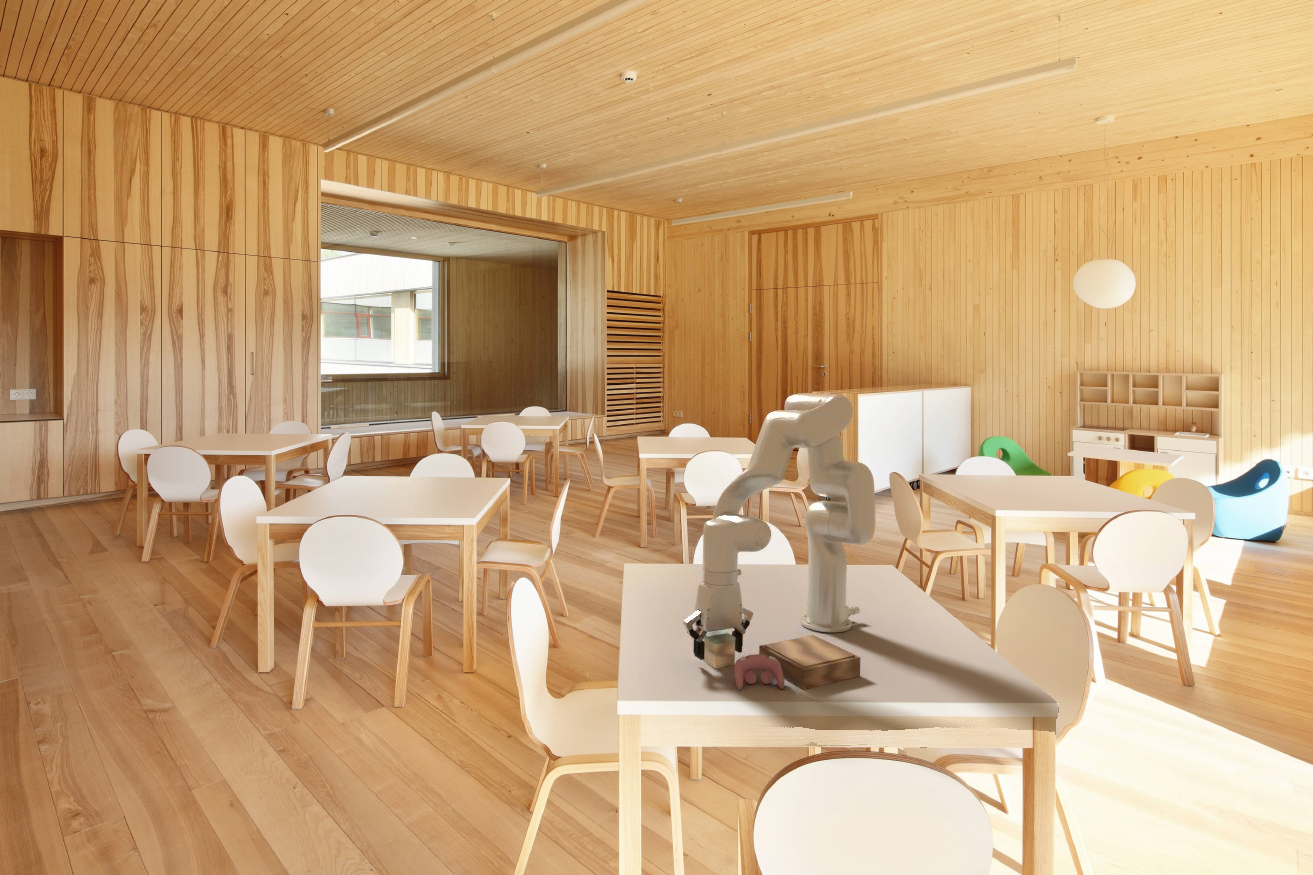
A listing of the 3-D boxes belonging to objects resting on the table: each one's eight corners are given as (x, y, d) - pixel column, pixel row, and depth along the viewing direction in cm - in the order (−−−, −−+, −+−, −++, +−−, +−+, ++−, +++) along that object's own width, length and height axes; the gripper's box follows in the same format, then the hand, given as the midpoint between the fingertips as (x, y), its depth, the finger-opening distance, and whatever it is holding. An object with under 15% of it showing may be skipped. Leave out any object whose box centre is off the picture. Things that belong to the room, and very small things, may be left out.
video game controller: (781, 690, 147) (779, 654, 150) (786, 689, 143) (783, 652, 145) (733, 691, 146) (731, 655, 149) (737, 689, 142) (735, 652, 145)
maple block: (722, 656, 161) (722, 630, 160) (734, 664, 156) (735, 637, 156) (702, 660, 158) (703, 633, 158) (715, 668, 154) (715, 640, 154)
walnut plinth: (812, 652, 164) (813, 633, 164) (859, 675, 151) (860, 655, 150) (758, 663, 157) (759, 644, 157) (803, 689, 144) (803, 668, 143)
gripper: (743, 569, 163) (741, 642, 164) (676, 577, 155) (675, 654, 156) (762, 576, 157) (760, 653, 158) (694, 585, 149) (692, 666, 150)
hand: (718, 654), depth 157 cm, fingers open, 9 cm apart
